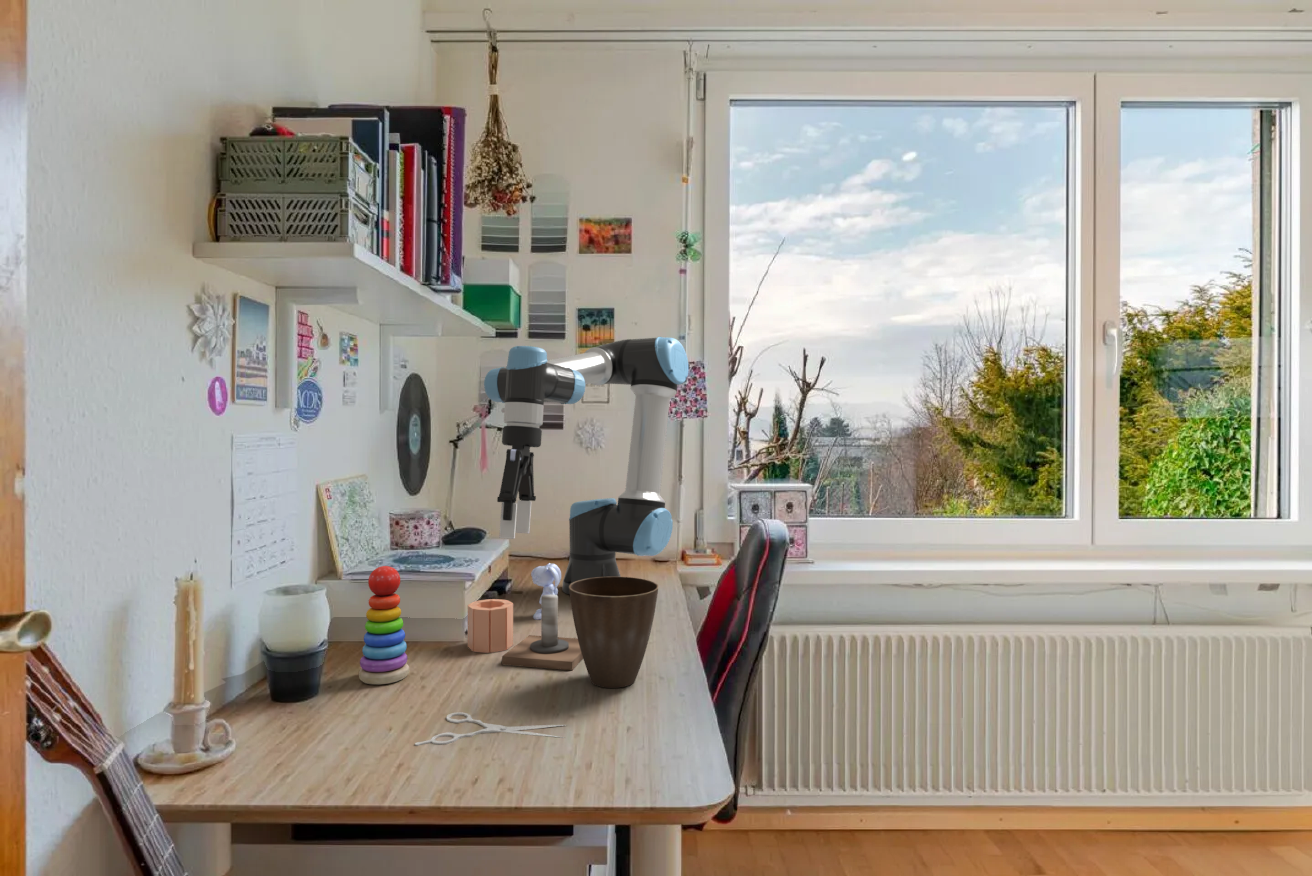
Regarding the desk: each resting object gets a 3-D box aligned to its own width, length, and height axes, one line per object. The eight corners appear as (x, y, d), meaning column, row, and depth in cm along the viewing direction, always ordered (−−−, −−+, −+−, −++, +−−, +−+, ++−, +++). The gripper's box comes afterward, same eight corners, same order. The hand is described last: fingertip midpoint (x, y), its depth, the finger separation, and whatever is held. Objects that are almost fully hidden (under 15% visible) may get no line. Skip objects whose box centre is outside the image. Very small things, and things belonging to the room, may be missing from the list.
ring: (480, 638, 145) (480, 598, 145) (518, 640, 144) (518, 600, 144) (461, 650, 138) (461, 608, 137) (501, 653, 136) (501, 611, 136)
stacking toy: (418, 677, 123) (418, 566, 123) (372, 690, 118) (372, 573, 117) (395, 666, 129) (395, 560, 128) (350, 677, 123) (350, 566, 122)
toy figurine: (533, 612, 165) (533, 559, 165) (562, 612, 165) (562, 559, 165) (528, 620, 158) (528, 565, 158) (557, 620, 158) (558, 565, 158)
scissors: (439, 711, 109) (574, 712, 108) (439, 716, 109) (574, 718, 108) (414, 744, 98) (563, 745, 97) (414, 749, 98) (563, 751, 98)
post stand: (529, 642, 143) (529, 586, 143) (593, 647, 140) (593, 590, 140) (502, 664, 130) (502, 602, 130) (572, 670, 128) (572, 607, 127)
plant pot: (573, 664, 130) (573, 575, 130) (657, 665, 130) (657, 575, 130) (563, 696, 115) (563, 596, 115) (658, 697, 116) (659, 596, 115)
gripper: (517, 429, 156) (510, 529, 154) (487, 419, 131) (478, 539, 129) (552, 431, 155) (545, 532, 154) (529, 422, 130) (520, 542, 129)
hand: (515, 535), depth 142 cm, fingers open, 13 cm apart
